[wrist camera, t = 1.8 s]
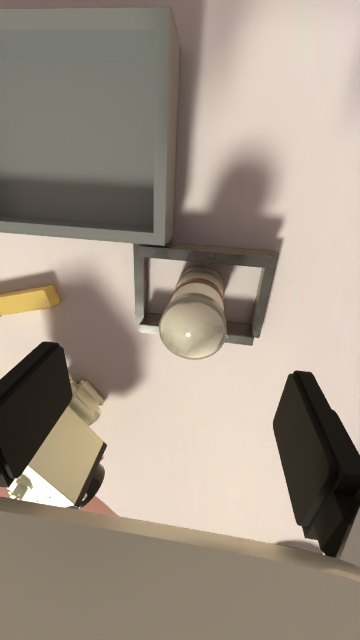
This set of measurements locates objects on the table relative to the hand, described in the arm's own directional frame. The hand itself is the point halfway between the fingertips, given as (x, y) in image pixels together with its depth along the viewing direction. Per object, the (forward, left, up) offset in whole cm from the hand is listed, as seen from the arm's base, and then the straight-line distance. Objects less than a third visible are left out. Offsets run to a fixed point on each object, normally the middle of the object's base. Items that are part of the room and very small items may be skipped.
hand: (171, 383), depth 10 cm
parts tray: (+11, -9, -13) cm, 20 cm away
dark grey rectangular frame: (0, +1, -13) cm, 13 cm away
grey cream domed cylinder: (0, 0, -13) cm, 13 cm away
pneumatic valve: (+13, +16, -14) cm, 24 cm away
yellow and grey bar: (+18, +3, -14) cm, 23 cm away
